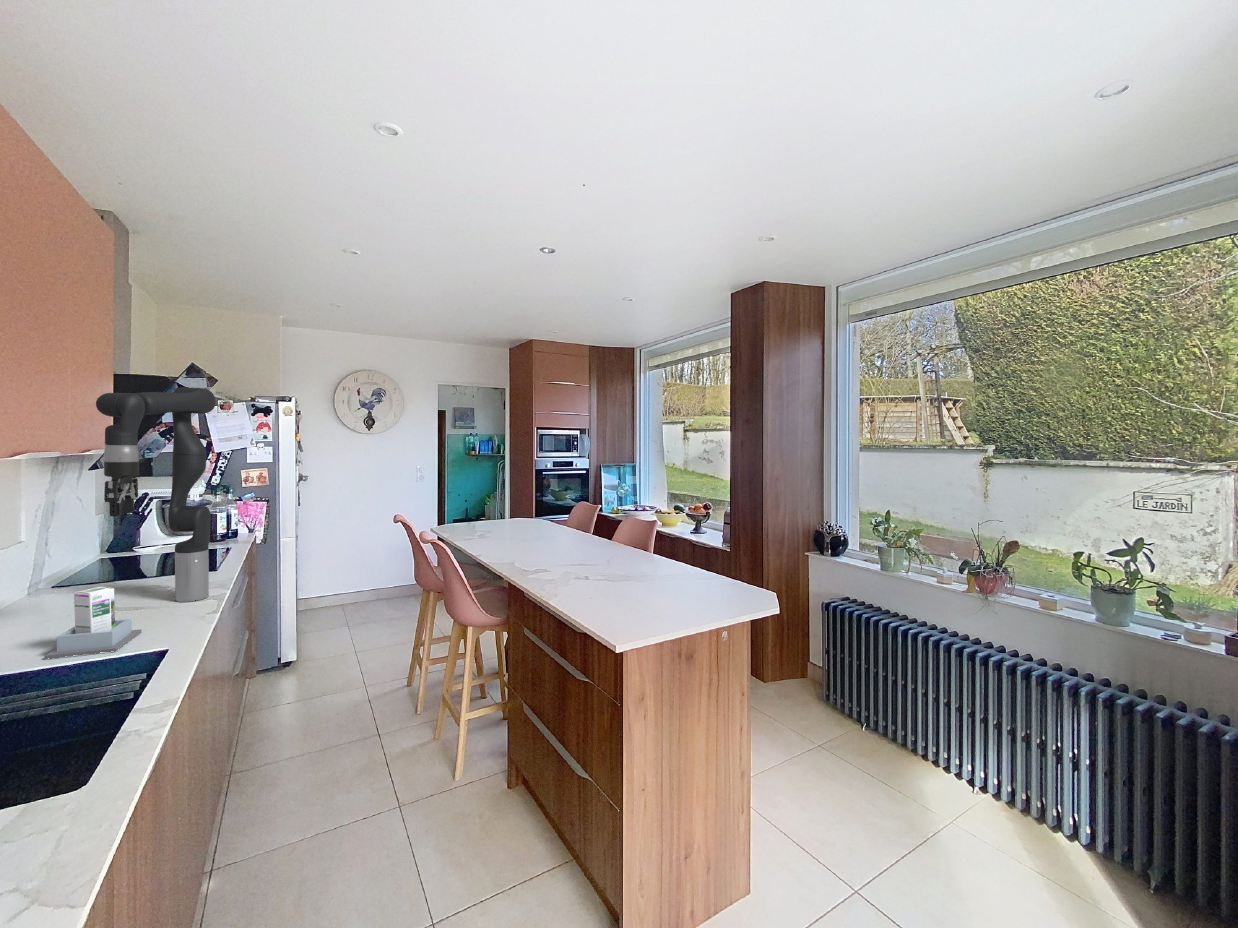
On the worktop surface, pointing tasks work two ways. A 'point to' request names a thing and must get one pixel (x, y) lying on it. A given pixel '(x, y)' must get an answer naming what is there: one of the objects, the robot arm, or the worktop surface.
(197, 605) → the worktop surface
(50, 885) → the worktop surface
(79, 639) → the holder
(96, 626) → the syrup box
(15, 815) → the worktop surface
